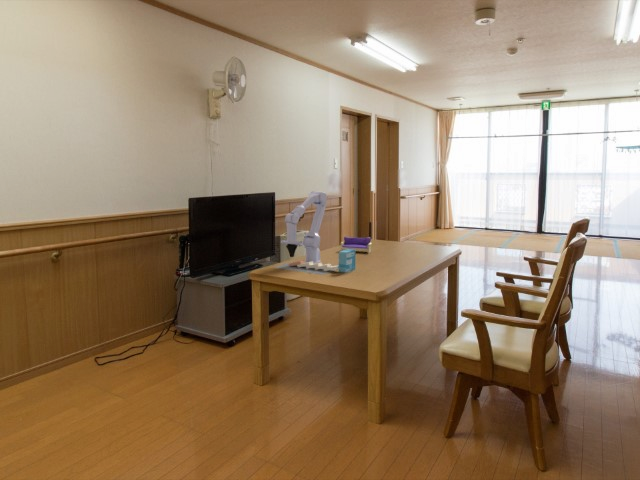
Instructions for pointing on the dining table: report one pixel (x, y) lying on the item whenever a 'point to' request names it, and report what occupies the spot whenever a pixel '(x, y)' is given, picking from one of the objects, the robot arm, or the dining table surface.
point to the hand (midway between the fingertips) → (291, 256)
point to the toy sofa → (356, 244)
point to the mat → (303, 269)
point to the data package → (347, 260)
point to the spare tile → (296, 263)
